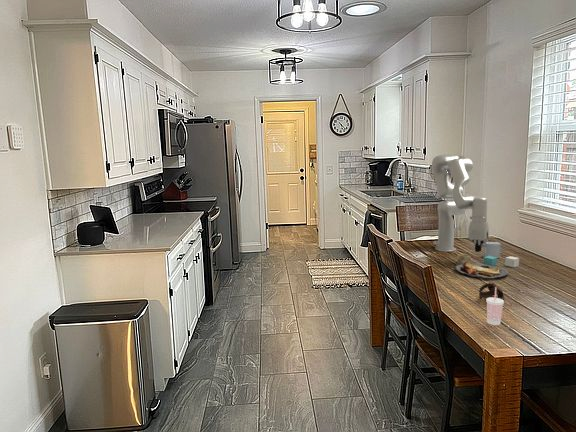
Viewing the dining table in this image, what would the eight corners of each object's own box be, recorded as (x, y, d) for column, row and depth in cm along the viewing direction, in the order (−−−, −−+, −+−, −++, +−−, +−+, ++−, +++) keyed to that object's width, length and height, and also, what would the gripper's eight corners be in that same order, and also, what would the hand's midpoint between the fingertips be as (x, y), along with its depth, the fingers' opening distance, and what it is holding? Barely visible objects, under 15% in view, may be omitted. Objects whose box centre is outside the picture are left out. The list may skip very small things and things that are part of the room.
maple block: (457, 263, 246) (457, 255, 245) (462, 261, 249) (462, 254, 248) (465, 265, 242) (465, 257, 241) (470, 263, 245) (470, 255, 244)
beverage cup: (505, 323, 165) (508, 287, 162) (497, 327, 161) (499, 291, 159) (490, 318, 170) (492, 283, 167) (481, 321, 166) (483, 287, 164)
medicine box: (497, 256, 258) (498, 242, 257) (500, 258, 254) (501, 244, 253) (483, 256, 259) (484, 242, 258) (486, 258, 255) (487, 243, 253)
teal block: (483, 265, 242) (483, 257, 241) (488, 263, 245) (488, 255, 244) (491, 267, 238) (492, 259, 237) (496, 265, 241) (497, 257, 240)
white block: (504, 265, 240) (505, 257, 239) (509, 264, 243) (510, 256, 242) (514, 267, 236) (514, 259, 235) (518, 265, 239) (519, 258, 238)
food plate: (447, 273, 228) (448, 266, 227) (464, 264, 244) (465, 258, 244) (498, 284, 211) (498, 277, 210) (512, 273, 228) (513, 267, 227)
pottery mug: (506, 306, 183) (498, 290, 182) (484, 311, 188) (475, 296, 187) (505, 290, 193) (497, 275, 192) (484, 296, 198) (476, 281, 197)
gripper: (463, 218, 247) (462, 250, 250) (488, 221, 235) (486, 254, 237) (470, 217, 251) (469, 248, 254) (495, 220, 239) (494, 252, 242)
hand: (478, 251), depth 246 cm, fingers closed
